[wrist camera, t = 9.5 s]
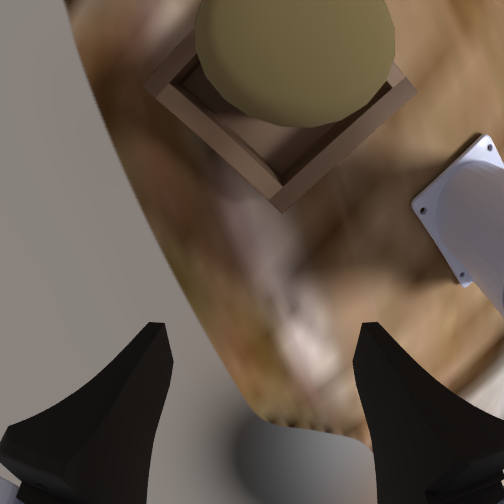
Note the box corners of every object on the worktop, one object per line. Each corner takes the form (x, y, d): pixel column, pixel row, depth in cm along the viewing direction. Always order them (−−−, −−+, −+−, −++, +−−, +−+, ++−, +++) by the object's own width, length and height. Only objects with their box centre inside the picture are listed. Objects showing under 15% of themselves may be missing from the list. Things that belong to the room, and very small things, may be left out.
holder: (392, 91, 16) (417, 92, 13) (279, 193, 20) (282, 213, 16) (277, -22, 13) (281, -45, 10) (162, 87, 17) (141, 86, 14)
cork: (278, 141, 17) (299, 207, 7) (199, 67, 15) (110, 35, 6) (356, 71, 15) (472, 55, 5) (278, -4, 13) (297, -114, 3)
